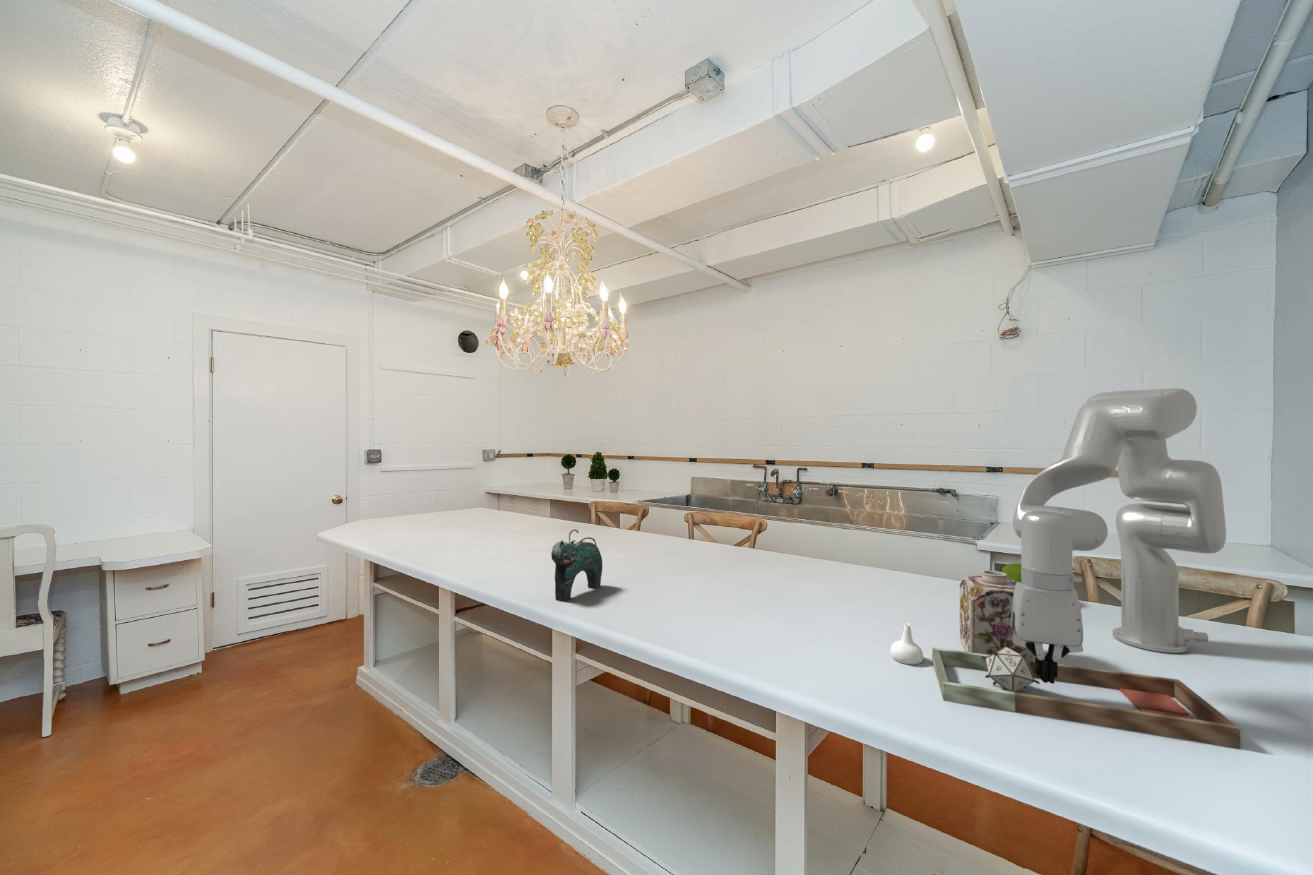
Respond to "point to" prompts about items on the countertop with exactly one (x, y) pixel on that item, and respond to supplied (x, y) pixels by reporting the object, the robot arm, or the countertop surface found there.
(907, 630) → the garlic bulb
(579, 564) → the teal animal figurine
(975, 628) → the decorative jar
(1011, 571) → the apple
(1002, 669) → the game die
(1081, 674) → the rectangular wooden frame
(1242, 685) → the countertop surface
